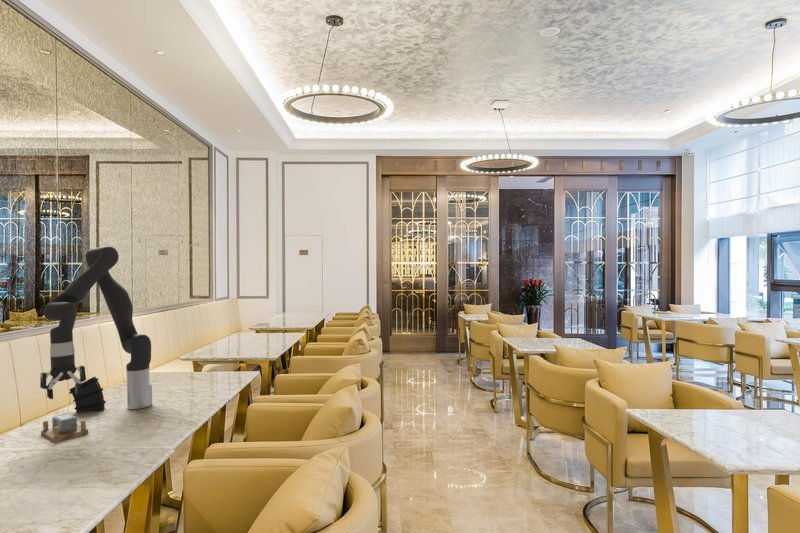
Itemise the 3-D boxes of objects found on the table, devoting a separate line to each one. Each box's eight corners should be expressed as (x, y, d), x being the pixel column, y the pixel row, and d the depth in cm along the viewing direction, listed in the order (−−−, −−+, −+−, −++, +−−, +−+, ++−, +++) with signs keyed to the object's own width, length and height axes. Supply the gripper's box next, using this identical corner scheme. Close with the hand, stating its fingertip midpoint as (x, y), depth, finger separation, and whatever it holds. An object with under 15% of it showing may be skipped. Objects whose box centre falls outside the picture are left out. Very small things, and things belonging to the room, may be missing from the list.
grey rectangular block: (67, 426, 184) (67, 413, 184) (76, 430, 179) (76, 416, 179) (52, 430, 180) (52, 416, 180) (61, 434, 175) (61, 420, 175)
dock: (74, 426, 189) (74, 414, 189) (88, 433, 179) (87, 420, 180) (41, 434, 180) (40, 421, 180) (54, 442, 171) (53, 428, 171)
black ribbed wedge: (108, 406, 210) (92, 377, 209) (80, 421, 208) (63, 392, 207) (112, 404, 214) (96, 375, 213) (85, 418, 212) (68, 389, 211)
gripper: (80, 349, 188) (82, 390, 188) (36, 356, 176) (38, 399, 177) (87, 351, 183) (89, 392, 183) (43, 358, 172) (45, 402, 172)
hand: (64, 395), depth 180 cm, fingers open, 8 cm apart
